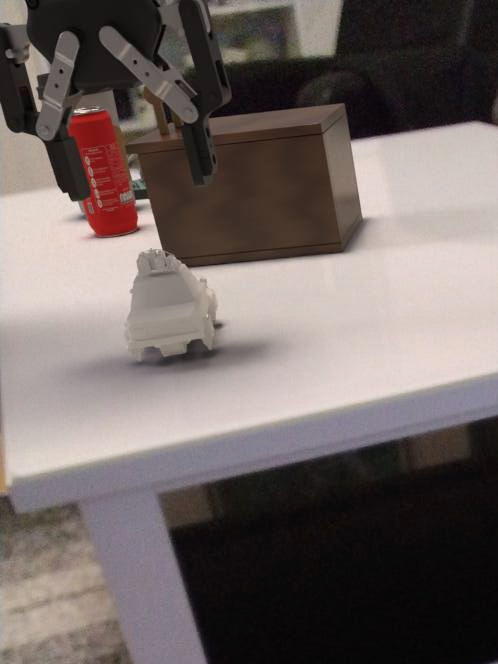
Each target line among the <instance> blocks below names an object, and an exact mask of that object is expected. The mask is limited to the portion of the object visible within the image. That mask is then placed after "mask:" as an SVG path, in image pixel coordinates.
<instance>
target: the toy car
mask: <svg viewBox="0 0 498 664" xmlns="http://www.w3.org/2000/svg"><path fill="white" fill-rule="evenodd" d="M165 252H166V251H163V250H162V248H157V249H156V248H150V249H148V250H146V251H141V252H140V253H138V257H137V259H136V261H135V262H136V268H137V273H136V276H135V277H134V280H133V283H132V288H130V289H129V293H130V294H131V301H130V302H131V303H130V310H129V313H128V315H127V317H126V320H125V322H124V328H125V330H124V334H123V335H124V341H125V345H126V350H127V351H129V352H130V354H131V355H132V357H134V358H135V360H137V361H139V362H141V361H142V358H143V351H144V349H145V348H150V347H154V348H155V349H159V351H160V352H161V354H162V356H163V357H169V356H175V355H183V354H186V353H187V352H188V344H191V341H194V340H198V339H199V340H202V343H203V345H204V346H206V347H207V349H208V350H210V351H212V350H213V345H214V339H215V336H216V329H215V327H214V323H213V321H216V318H217V311H218V307H219V301H218V298H217V295H216V292H215V291H214V289H211V288H209V285H208V280H207V278H206V277H204V276H203V275H202V274H193V273H192V271H191V269H189V267H187V266H186V265H185V264H182V263H181V261H180V260H177V259H176V258H175V256H174V255H173V254H171V255H169V256H168V257H166V256H165ZM166 253H168V252H166ZM168 254H170V253H168ZM172 255H173V256H172Z"/></svg>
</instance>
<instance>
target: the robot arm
mask: <svg viewBox="0 0 498 664" xmlns="http://www.w3.org/2000/svg"><path fill="white" fill-rule="evenodd" d="M24 2H25V5H26V11H27V19H26V23H24V24H23V23H22V24H11V23H10V22H9V23H8V22H0V107H1V110H2V114H3V118H4V121H5V124H6V127H7V128H8V130H9V131H10V132H12V133H14V134H20V133H22V134H25V135H26V134H27V135H30V136H34V137H36V138H38V139H39V140H40V141H41V142H42V143H43V145H44V147H45V150H46V153H47V156H48V159H49V162H50V166H51V169H52V172H53V176H54V179H55V181H56V184H57V187H58V188H59V190H60V192H62V194H67V195H68V198H69V199H70V201H71V202H72V203H76V202H77V203H78V201H84V200H86V199H87V198H89V197H90V196H91V189H90V186H89V182H88V179H87V176H86V172H85V169H84V166H83V162H82V159H81V156H80V152H79V149H78V146H77V142H76V139H75V136H70V137H69V133H68V129H69V126H70V123H71V120H72V117H73V114H74V111H75V108H76V106H77V104H78V103H79V101H80V99H81V97H82V94H83V92H85V94H91V93H98V92H101V91H104V90H107V89H109V88H114V89H113V90H121V91H123V90H129V89H135V88H137V87H140V86H146V87H147V88H148V89H149V90H150V91H151V92H152V93H153V94H154V95H156V96H157V97H159V98H161V99H162V100H163V101H164V103H165V105H167V106H168V107H169V109H170V108H171V109H172V110H173V111H174V112H175V113H176V114H177V115H178V116H179V117H180V118H181V119H182V122H184V124H183V125H181V126H180V129H181V133H182V137H183V141H184V145H185V150H186V154H187V158H188V162H189V166H190V170H191V174H192V178H193V182H194V184H195V186H196V187H201V186H207V185H209V184H210V183H211V182H212V175H213V174H214V173H216V172H217V168H218V161H217V156H216V152H215V148H214V143H213V139H212V135H211V131H210V126H209V118H210V117H211V114H212V113H213V112H214V111H216V110H218V109H220V108H221V107H223V106H225V105H226V104H228V103H229V102H230V101H231V99H232V90H231V89H232V88H231V85H230V82H229V78H228V74H227V71H226V67H225V63H224V60H223V55H222V52H221V49H220V44H219V42H218V38H217V34H216V31H215V27H214V23H213V20H212V16H211V12H210V9H209V8H210V7H209V5H208V3H207V1H206V0H180V1H179V2H177V3H172V4H167V5H166V4H165V5H162V6H161V4H160V3H159V2H158V0H24ZM167 26H169V27H170V28H171V29H172V30H173V31H174V34H175V36H176V37H177V39H178V40H179V41H181V42H182V43H187V45H188V49H189V52H190V56H191V59H192V63H193V66H194V71H195V72H196V77H197V81H198V84H199V87H200V90H201V92H199V93H197V92H196V91H195V90H194V89H193V88H192V87H191V86H190V84H188V82H187V81H186V80H185V79H184V77H183V75H182V74H181V72H180V71H178V69H177V68H176V67H175V66H174V65H173V64H172V63H171V62H170V61H169V59H167V58H166V57H165V56H164V55H163V53H161V52H160V51H159V50H160V48H161V45H162V41H163V38H164V35H165V32H166V30H167ZM30 46H33V47H34V49H36V50H37V51H38V53H40V55H41V56H42V57H43V58H45V60H46V61H47V62H48V63H49V64H50V65H51V67H50V70H49V72H48V73H49V76H48V79H47V83H46V86H45V89H44V92H43V99H44V101H43V104H42V103H41V108H40V111H38V107H37V103H36V100H35V97H34V92H33V88H32V85H31V81H30V77H29V73H28V70H27V66H26V62H28V60H29V58H30V54H31V53H30Z"/></svg>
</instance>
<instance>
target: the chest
mask: <svg viewBox="0 0 498 664" xmlns="http://www.w3.org/2000/svg"><path fill="white" fill-rule="evenodd" d="M214 148H215V152H216V156H217V161H218V168H217V172H216V173H214V174H213V175H212V182H211V183H210V184H209V185H207V186H201V187H196V186H195V184H194V182H193V178H192V174H191V170H190V166H189V162H188V158H187V154H186V150H185V148H184V149H175V150H166V151H157V152H148V153H139V154H137V155H138V157H137V158H138V163H139V168H140V167H141V171H142V174H143V178H144V182H145V186H146V189H147V193H148V197H149V198H148V200H149V205H150V208H151V212H152V216H153V220H154V223H155V224H154V225H155V227H156V231H157V235H158V238H159V243H160V247H161V251H162V250H163V251H166V252H168V253H170V254H168V253H166V252H165V256H166V257H168V256H169V255H171V254H173V255H174V256H175V258H176V259H177V260H180V261H181V263H182V264H185V265H186V266H187V268H191V267H202V266H210V265H220V264H221V265H223V264H230V263H243V262H253V261H263V260H272V259H283V258H293V257H303V256H314V255H325V254H334V253H335V254H336V253H343V251H344V250H345V248H346V247H347V245H348V243H349V242H350V240H351V238H352V237H353V235H354V234H355V233H356V230H357V229H358V227H359V226H360V224H361V223H362V222H363V218H364V217H363V213H362V206H361V199H360V193H359V188H358V187H359V186H358V179H357V172H356V167H355V161H354V154H353V148H352V142H351V135H350V128H349V121H348V115H347V112H345V113H344V114H343V115H342V116H341V117H340V118H339V119H337V120H336V121H335V122H334V123H333V124H332V125H331V126H330V127H328V128H327V129H326V130H325V131H324V132H323V133H319V134H310V135H301V136H292V137H283V138H274V139H265V140H256V141H247V142H238V143H229V144H220V145H214ZM173 255H172V256H173Z"/></svg>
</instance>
